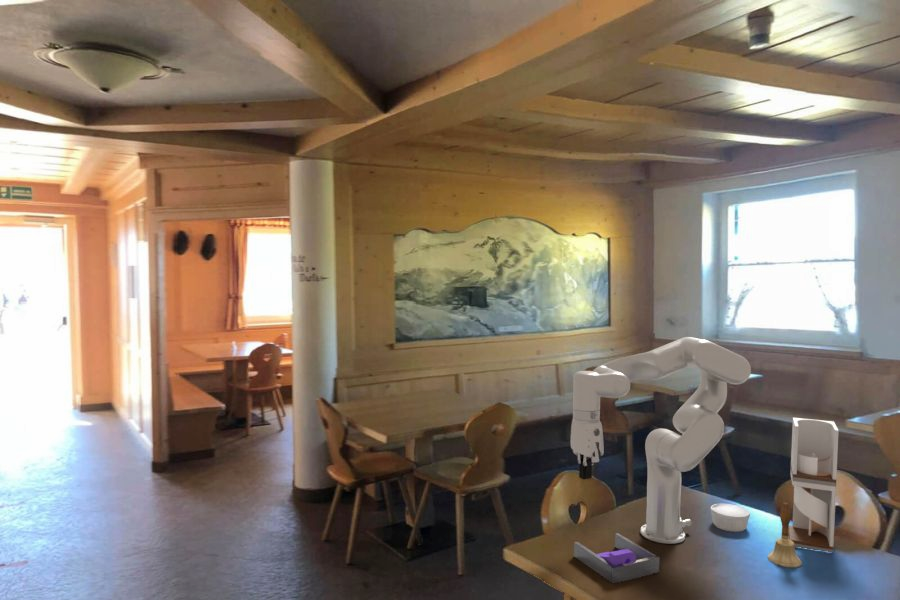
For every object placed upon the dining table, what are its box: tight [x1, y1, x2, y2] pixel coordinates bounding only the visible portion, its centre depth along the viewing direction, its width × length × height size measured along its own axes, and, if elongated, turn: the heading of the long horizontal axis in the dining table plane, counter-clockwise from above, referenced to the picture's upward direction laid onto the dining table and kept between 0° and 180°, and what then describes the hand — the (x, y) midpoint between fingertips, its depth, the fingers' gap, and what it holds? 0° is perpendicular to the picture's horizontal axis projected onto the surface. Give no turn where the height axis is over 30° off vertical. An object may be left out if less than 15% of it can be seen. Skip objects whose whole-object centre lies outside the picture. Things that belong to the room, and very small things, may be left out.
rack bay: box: [573, 532, 660, 584], centre depth 172 cm, size 15×16×4 cm
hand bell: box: [767, 501, 803, 568], centre depth 175 cm, size 8×8×16 cm
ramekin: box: [710, 503, 751, 533], centre depth 199 cm, size 11×11×5 cm
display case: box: [788, 417, 840, 553], centre depth 186 cm, size 11×11×35 cm
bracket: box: [596, 549, 636, 566], centre depth 170 cm, size 12×7×7 cm, turn 22°
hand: (585, 477), depth 185 cm, fingers closed
